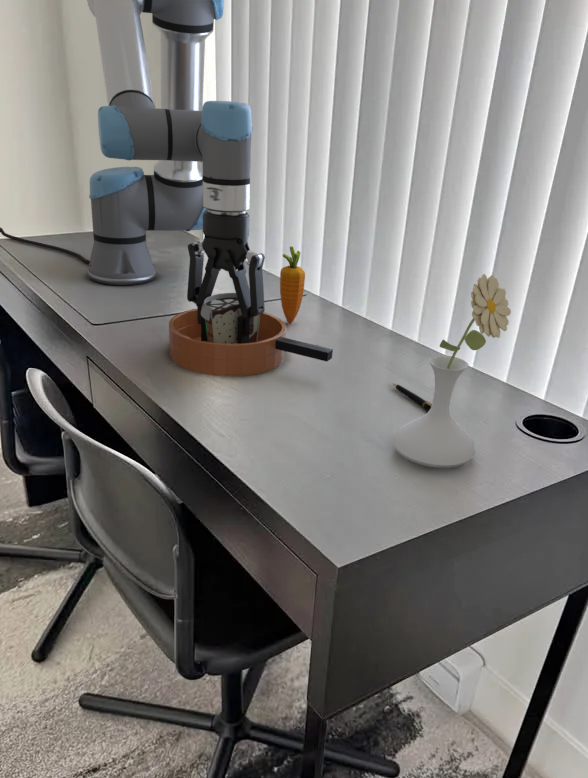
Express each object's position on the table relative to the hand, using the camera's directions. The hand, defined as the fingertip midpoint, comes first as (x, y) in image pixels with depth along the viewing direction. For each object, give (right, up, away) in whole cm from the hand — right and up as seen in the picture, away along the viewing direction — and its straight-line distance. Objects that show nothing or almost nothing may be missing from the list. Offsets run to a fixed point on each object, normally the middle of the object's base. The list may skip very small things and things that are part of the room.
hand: (224, 346), depth 124 cm
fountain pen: (+32, -11, -12) cm, 36 cm away
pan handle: (+14, -2, -6) cm, 15 cm away
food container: (0, -1, +1) cm, 2 cm away
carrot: (+11, +8, +18) cm, 23 cm away
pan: (0, -1, +2) cm, 2 cm away
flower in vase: (+32, -20, -26) cm, 46 cm away
